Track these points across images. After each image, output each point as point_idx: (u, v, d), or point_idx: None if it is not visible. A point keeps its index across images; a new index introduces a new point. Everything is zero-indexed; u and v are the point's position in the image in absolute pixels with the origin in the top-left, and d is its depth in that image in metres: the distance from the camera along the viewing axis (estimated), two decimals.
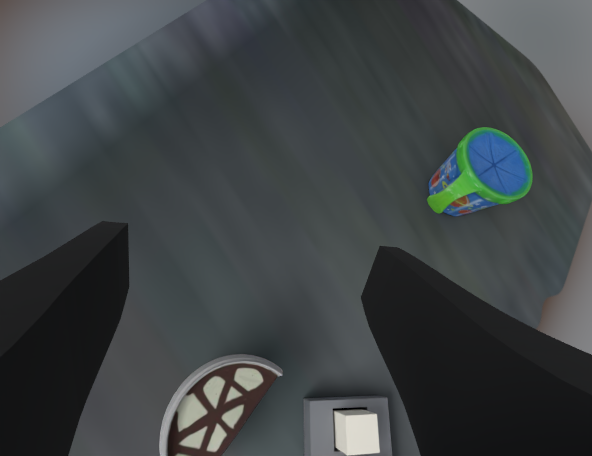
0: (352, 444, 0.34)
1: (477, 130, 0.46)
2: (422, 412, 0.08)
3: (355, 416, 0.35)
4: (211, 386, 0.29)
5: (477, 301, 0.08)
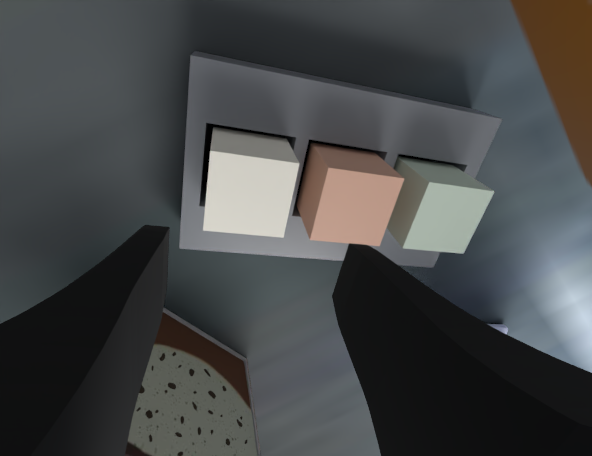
0: (266, 223, 0.15)
1: None
2: (383, 414, 0.08)
3: (208, 208, 0.14)
4: None
5: (439, 299, 0.08)
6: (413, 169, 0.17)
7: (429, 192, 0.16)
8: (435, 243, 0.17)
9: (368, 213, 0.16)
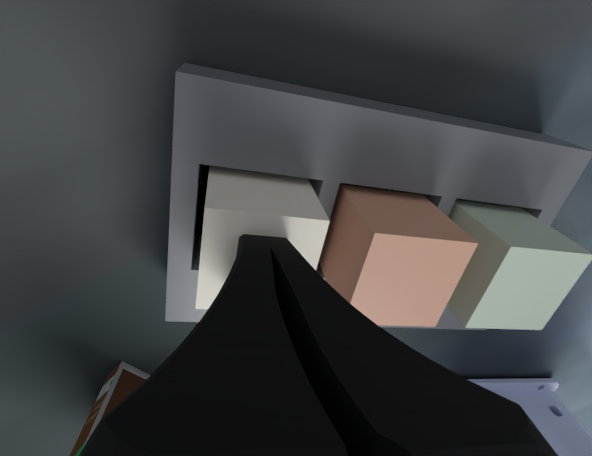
0: None
1: None
2: None
3: (201, 281, 0.10)
4: None
5: (330, 294, 0.07)
6: (480, 222, 0.12)
7: (509, 260, 0.11)
8: (508, 320, 0.13)
9: (424, 288, 0.11)
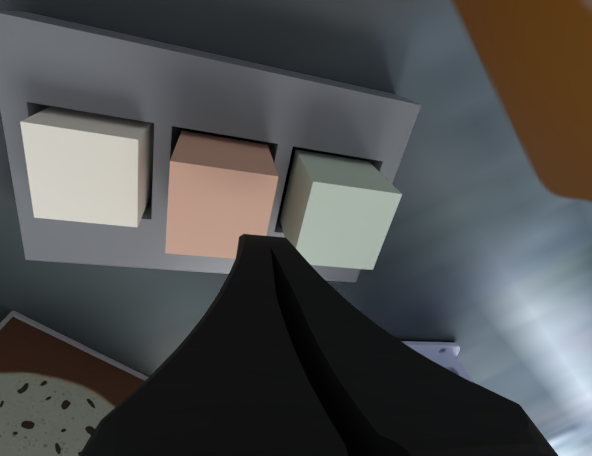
0: (111, 210, 0.13)
1: None
2: None
3: (34, 190, 0.12)
4: None
5: (330, 294, 0.07)
6: (305, 165, 0.13)
7: (315, 195, 0.12)
8: (334, 257, 0.14)
9: (237, 219, 0.12)
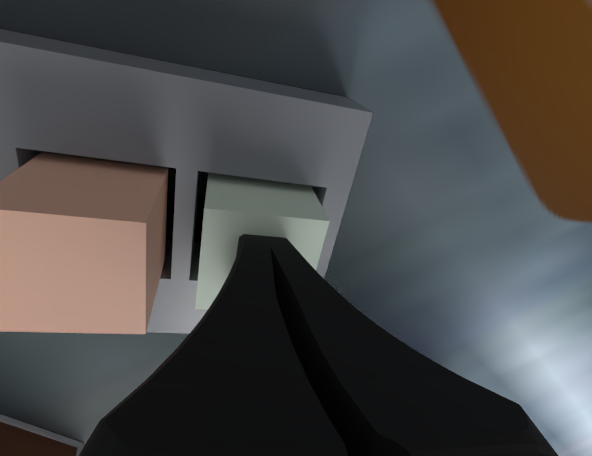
0: None
1: None
2: None
3: None
4: None
5: (330, 294, 0.07)
6: (208, 184, 0.10)
7: (210, 225, 0.09)
8: None
9: (96, 283, 0.08)
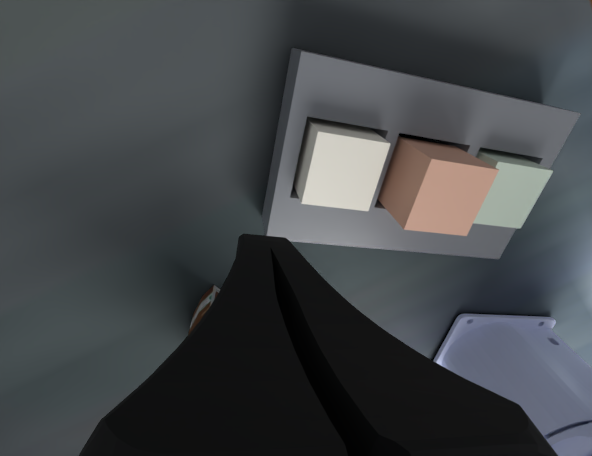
0: (355, 198, 0.17)
1: None
2: None
3: (308, 183, 0.16)
4: None
5: (330, 294, 0.07)
6: (479, 151, 0.19)
7: None
8: (497, 218, 0.19)
9: (461, 203, 0.16)
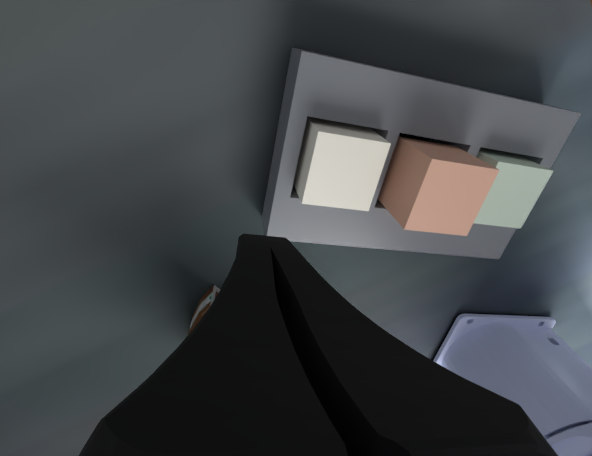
0: (355, 198, 0.17)
1: None
2: None
3: (308, 183, 0.16)
4: None
5: (330, 294, 0.07)
6: (479, 151, 0.19)
7: None
8: (497, 218, 0.19)
9: (461, 203, 0.16)
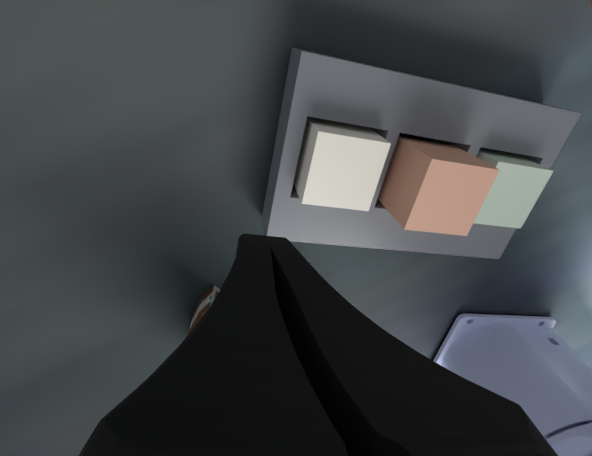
0: (355, 198, 0.17)
1: None
2: None
3: (308, 183, 0.16)
4: None
5: (330, 294, 0.07)
6: (479, 151, 0.19)
7: None
8: (497, 218, 0.19)
9: (461, 203, 0.16)
